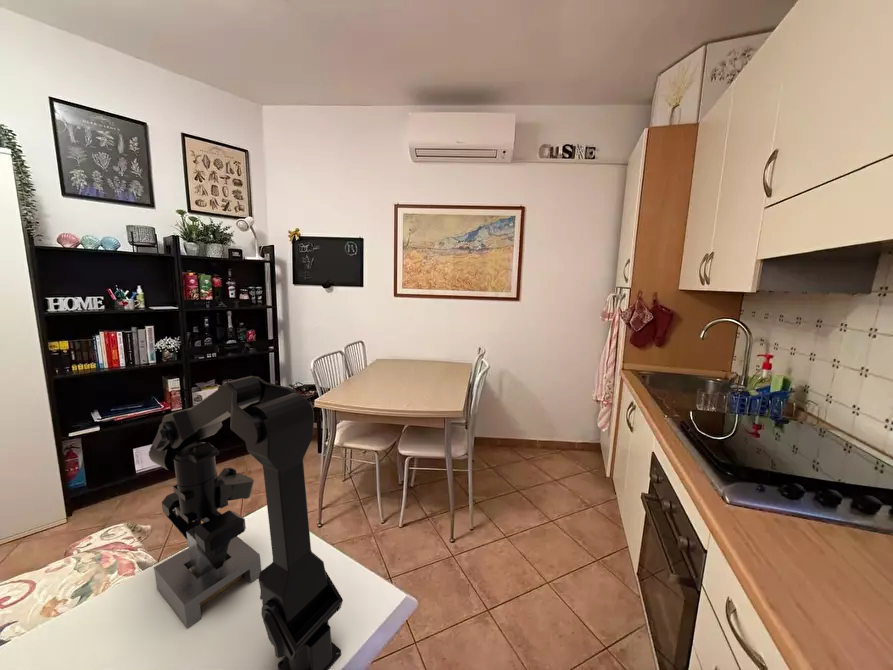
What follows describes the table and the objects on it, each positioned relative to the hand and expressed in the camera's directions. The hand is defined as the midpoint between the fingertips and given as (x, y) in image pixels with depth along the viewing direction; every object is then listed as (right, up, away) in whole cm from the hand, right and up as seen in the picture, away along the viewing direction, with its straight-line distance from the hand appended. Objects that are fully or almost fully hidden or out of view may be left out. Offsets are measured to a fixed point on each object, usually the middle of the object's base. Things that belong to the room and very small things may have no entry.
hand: (207, 556), depth 62 cm
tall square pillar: (0, -5, +1) cm, 6 cm away
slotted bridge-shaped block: (0, -5, +1) cm, 6 cm away
